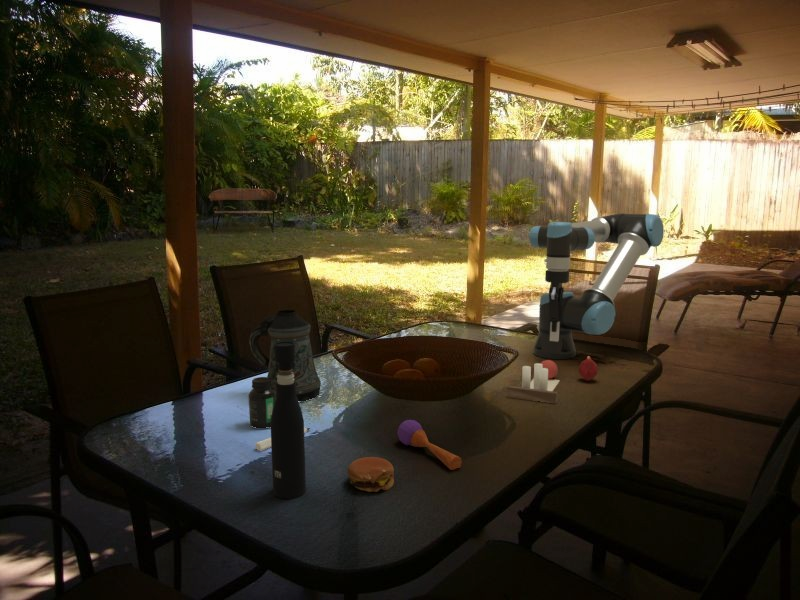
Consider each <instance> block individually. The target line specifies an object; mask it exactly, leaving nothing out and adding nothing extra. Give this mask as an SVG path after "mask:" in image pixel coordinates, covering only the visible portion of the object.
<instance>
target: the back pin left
mask: <svg viewBox="0 0 800 600" xmlns="http://www.w3.org/2000/svg"><path fill="white" fill-rule="evenodd" d="M547 388H548V369H547V368H540V374H539V390H545V391H547Z"/></svg>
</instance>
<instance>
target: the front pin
mask: <svg viewBox="0 0 800 600" xmlns="http://www.w3.org/2000/svg"><path fill="white" fill-rule="evenodd" d="M533 365H534V366H533V368H534V369H533V378H534V388H533V389H538V390H539V374H540V368H543V364H541V362H540V363H534V364H533Z"/></svg>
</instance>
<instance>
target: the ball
mask: <svg viewBox="0 0 800 600" xmlns="http://www.w3.org/2000/svg"><path fill="white" fill-rule="evenodd" d="M540 364H543V368H547V369H548V379H554V378H555V377H556V376H557V375H558V371H559V369H558V365H557V363H556V362H554V361H553V360H552V359H546V360H545V359H544V360H543V361H541V362H540Z"/></svg>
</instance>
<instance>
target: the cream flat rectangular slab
mask: <svg viewBox="0 0 800 600" xmlns="http://www.w3.org/2000/svg"><path fill="white" fill-rule="evenodd" d="M558 384H560V379H554V378H551V379H548V388H547V391H553V392H554V390H555V388H557V386H558ZM533 388H534V377H533V378H532V379H531V380H530V389H533Z"/></svg>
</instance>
